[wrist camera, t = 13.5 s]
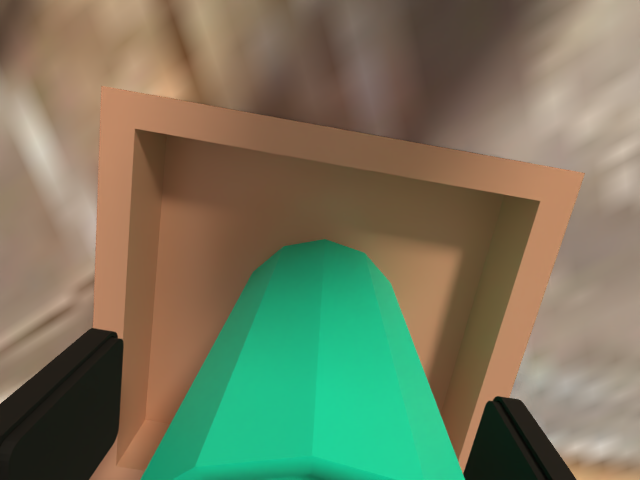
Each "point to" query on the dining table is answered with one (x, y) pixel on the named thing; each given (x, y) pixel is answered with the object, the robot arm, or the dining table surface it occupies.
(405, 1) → the dining table surface
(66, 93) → the dining table surface
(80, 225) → the dining table surface
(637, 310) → the dining table surface
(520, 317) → the tray
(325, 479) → the candle
